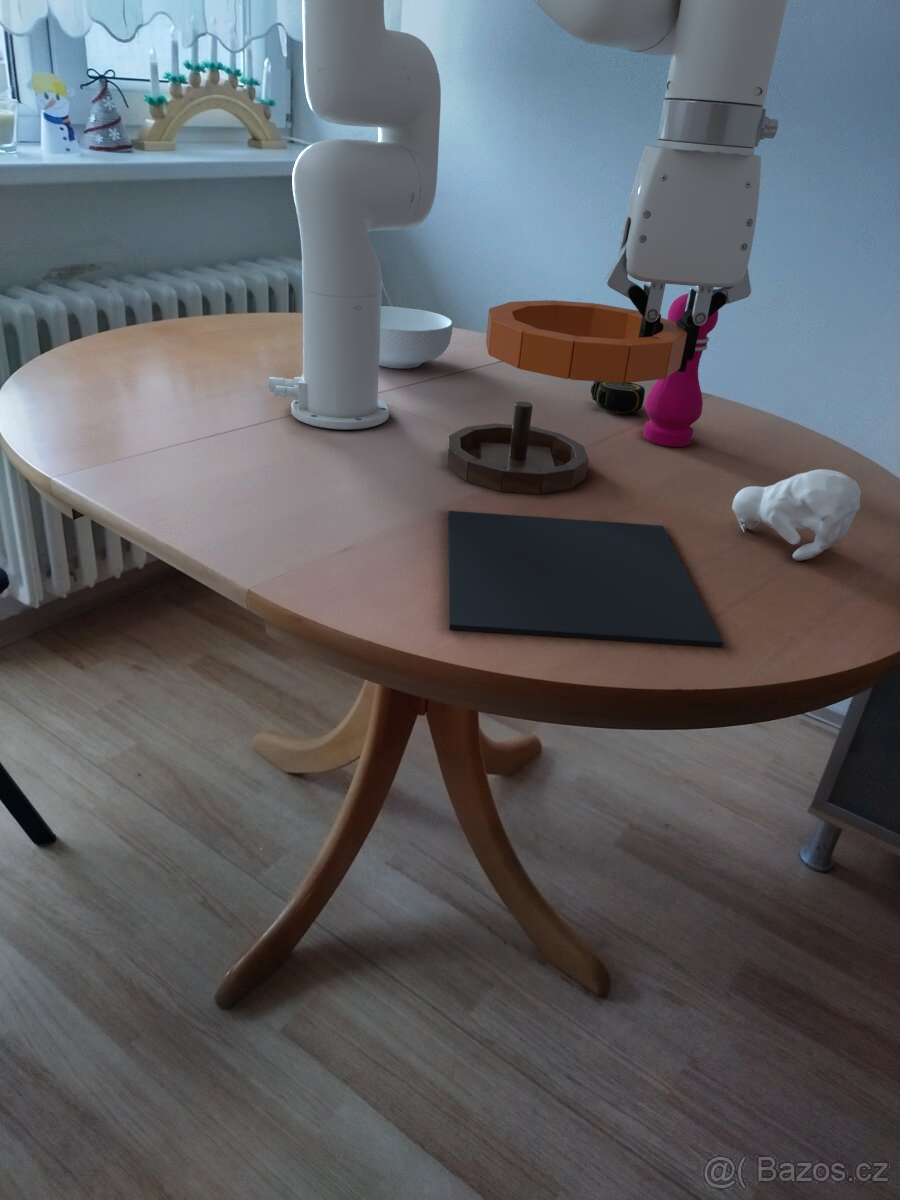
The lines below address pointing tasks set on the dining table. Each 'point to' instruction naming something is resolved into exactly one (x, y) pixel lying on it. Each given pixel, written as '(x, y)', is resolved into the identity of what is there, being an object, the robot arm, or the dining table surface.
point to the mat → (571, 580)
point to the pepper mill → (677, 392)
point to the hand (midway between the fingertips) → (662, 365)
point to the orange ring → (582, 341)
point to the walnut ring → (510, 476)
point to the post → (518, 445)
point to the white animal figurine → (802, 508)
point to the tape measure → (618, 396)
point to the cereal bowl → (412, 336)
